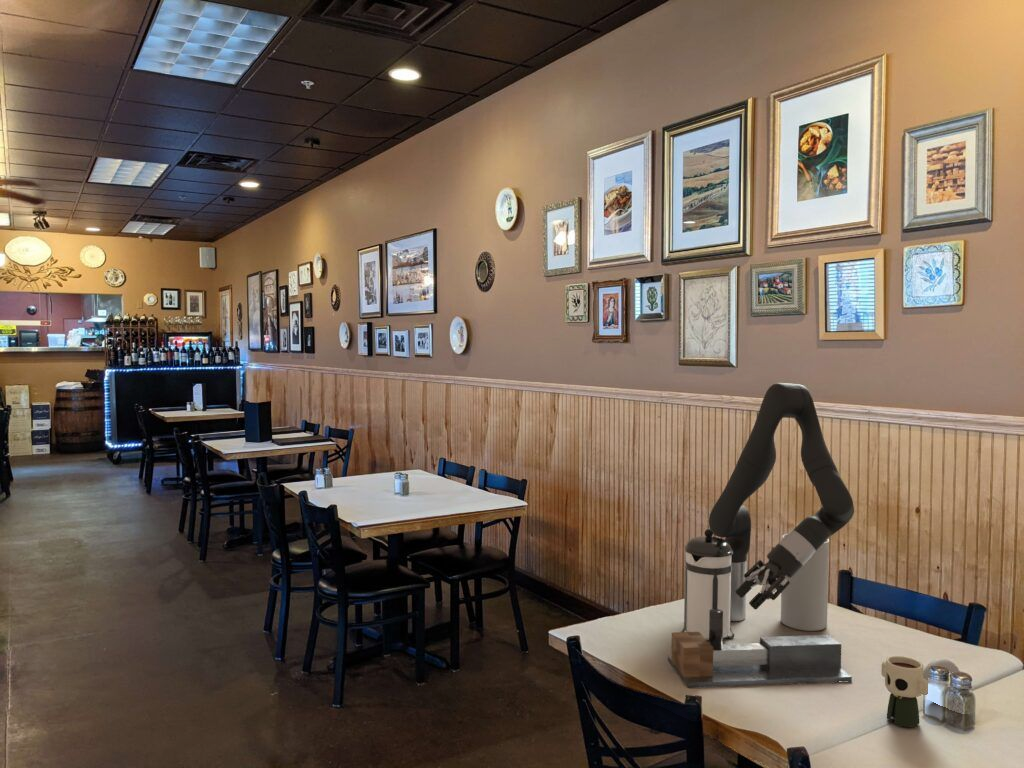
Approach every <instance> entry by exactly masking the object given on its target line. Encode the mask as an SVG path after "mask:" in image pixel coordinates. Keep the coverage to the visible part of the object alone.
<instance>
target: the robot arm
mask: <svg viewBox="0 0 1024 768" xmlns="http://www.w3.org/2000/svg"><path fill="white" fill-rule="evenodd" d="M783 418H786V419H789V418H791V419H794V420H795V421H796V423H797V424H798V426H799V428H800V431H801V446H800V457H801V461H802V466H803V467H804V470H805V472H806V473H807V476H808V478H809V481H810V482H811V484H812V486H813V487H814V488H815V491H816V493H817V497H818V498H819V501H820V503H821V506H822V507H820V509H818V511H816V513H815V514H813V515H812V516H811V515H809V516H807V517H805V518H804V519H802V521H800V523H798V524H797V526H795V528H794V529H793V530H791V532H789V533H787V534H788V535H786V536H785V537H784V538H783V539H781V540H780V541H779V542H778V543H777V544H776V545H775V546H774V547H773V548H772V549H771V550H770V551H769V552H768V554H766V558H767V559H768V561H767V562H765V563H764V562H763V561H762V560H761V559H759V560H758V561H757V562H756V563H755V564H754V565H752V567H750V568H749V569H748V570H747V566H748V565H747V564H748V563H747V562H748V561H747V558H748V553H749V551H750V548H751V547H750V546H751V534H752V533H751V532H752V518H751V514H750V512H749V509H748V508H747V507H746V506H745V505H743V504H744V502H745V501H746V500H748V499H749V498H750V497H751V496H752V495H753V494H754V493H756V492H757V491H758V490H759V488H761V487H762V486H763V485H764V483H765V482H766V481H767V480H768V479H769V476H770V474H771V472H772V470H773V468H774V467H775V463H776V461H777V451H776V450H777V449H776V444H775V434H776V430H777V428H778V426H779V424H780V422H781V420H782V419H783ZM755 419H756V420H755V422H754V425H753V427H752V430H751V432H750V434H749V436H748V439H747V441H746V443H745V446H744V447H743V449H742V451H741V453H740V455H739V458H738V460H737V461H736V462H737V463H736V465H735V467H734V469H733V471H732V474H731V475H730V477H729V479H728V481H727V482H726V483H727V484H726V485H725V487H724V489H723V491H722V492H721V494H720V496H719V497H718V499H717V501H716V502H715V504H714V505H713V507H712V509H711V510H710V513H709V516H708V527H709V529H710V530H712V532H713V535H714V537H717V538H724V540H725V541H727V542H728V543H729V544H730V546H731V548H732V549H733V554H732V555H731V563H732V571H731V615H730V622H739V621H744V620H745V619H746V608H747V607H746V605H747V594H748V593H749V592H750V591H751V589H753V588H754V587H757V586H758V585H759V586H761V589H760V591H759V592H758V593H756V594H755V596H754V597H753V598H752V599H750V600H749V602H748V604H749V606H750V607H752V608H753V609H754V610H757V609H759V608H760V606H762V604H764V603H765V601H767V600H772V601H775V600H776V599H777V598H778V597H779V596H781V592H782V591H783V590H784V589H785V588H786V587H787V586H788V585H789V583H790V582H789V581H788V579H787V578H786V577H785V576H787V577H789V578H791V577H792V576H793V575H794V574H795V573H796V572H797V571H798V570H799V569H800V568H801V567H802V566H803V565H804V564H805V563H806V562H807V561H808V560H809V559H810V558H811V557H812V555H813V554H814V553H815V551H816V550H817V549H818V548H819V547H820V546H821V545H822V544H823V543H824V542H825V541H826V540H827V539H829V538H830V537H831V536H833V535H834V534H836V533H837V532H838V531H840V530H841V529H842V528H844V527H845V526H846V525H847V524H848V523H849V522H850V521H851V520H852V518H853V516H854V514H855V505H854V501H853V498H852V496H851V493H850V491H849V489H848V488H847V485H846V483H845V482H844V480H843V479H842V478H841V476H840V472H839V470H838V468H837V466H836V464H835V462H834V459H833V457H832V455H831V453H830V451H829V449H828V447H827V443H826V440H825V439H824V435H823V432H822V428H821V425H820V424H821V423H820V419H819V416H818V414H817V409H816V406H815V402H814V400H813V397H812V394H811V392H810V390H809V389H808V388H807V386H805V385H802V384H799V383H790V382H789V383H788V382H787V383H785V382H776V383H774V384H771V385H770V386H769V388H768V389H767V390H766V392H765V394H764V396H763V398H762V401H761V405H760V408H759V411H758V414H757V417H756V418H755Z"/></svg>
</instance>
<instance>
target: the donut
mask: <svg viewBox="0 0 1024 768" xmlns="http://www.w3.org/2000/svg"><path fill="white" fill-rule="evenodd" d="M931 666H941V667H945V668H947V669H948V670H949V671H950V673H952V672H960V671H961V670H959V667H958V666H957V665H956V663H955V662H953V661H951V660H950V659H947V658H936V659H933V660H932V661H930V662H929V663H928V664H927V665H926V666H925V667H924V668H923V678H924V679H926V680H927V681H928V676H929V668H930V667H931ZM960 673H961V672H960Z"/></svg>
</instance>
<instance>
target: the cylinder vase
mask: <svg viewBox="0 0 1024 768" xmlns="http://www.w3.org/2000/svg"><path fill="white" fill-rule="evenodd" d="M788 534H789V533H785V534H783V535H782V536H781V537H782V539H783V538H784V537H785V536H786V535H788ZM782 539H781V540H782ZM829 553H830V539H829V538H828V539H827V540H826V541H825V542H824V543H823V544H822V545H821V546H820V547H819V548H818V549H817V550H816V551H815V553H814V554H813V555H812V557H811V558H810V559H809V560H808V561H807V562H806V563H805V564H804V565H803V566H802V567H801V568H800V569H799V570H798V571H797V572H796V573H795V574H794V575H793V576H792V577H791V578H789V577H787V576H785V577H786V578H787V579H788V581H789V582H790V583H789V585H788V586H787V587H786V588H785V589H784V590H783V591H782V592H781V593H780V621H781V623H782V624H783V625H784V626H786V627H788V628H791V629H793V630H798V631H803V632H804V631H805V632H818V631H819V632H820V631H822V630H824V629H826V628H827V626H828V609H829V607H828V606H829V605H828V604H829V603H828V600H829V599H828V598H829V569H830V568H829V567H830V566H829V564H830V563H829V561H830V560H829V559H830V554H829Z"/></svg>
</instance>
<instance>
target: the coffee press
mask: <svg viewBox="0 0 1024 768" xmlns="http://www.w3.org/2000/svg"><path fill="white" fill-rule="evenodd" d="M703 533H704V535H703V536H694V537H692V538H690V539H689V540H688V541H687V542H686V544H685V545H684V552H685V559H684V570H685V571H684V605H683V606H684V609H683V610H684V611H683V613H684V614H683V616H684V617H683V628H682V630H681V631H680V632H700V634H701V635H702V636H703V637H704V638H705V639H706V640H707V641H709V611H710V610H711V609H719V610H722V611H723V639H725V638H726V637H728V638H729V639H731V638H732V639H734V638H735V634H734V633H733V631H732V629H731V621H730V615H731V571H732V563H731V555H732V554H733V549H732V548H731V546H730V544H729V543H728V542H727V541H725V539H722V537H718V536H713V535H714V534H713V532H712V530H710V528H709V529H706V530H705V531H704V532H703ZM730 632H731V633H732V634H731V636H730V635H729V634H730Z"/></svg>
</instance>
